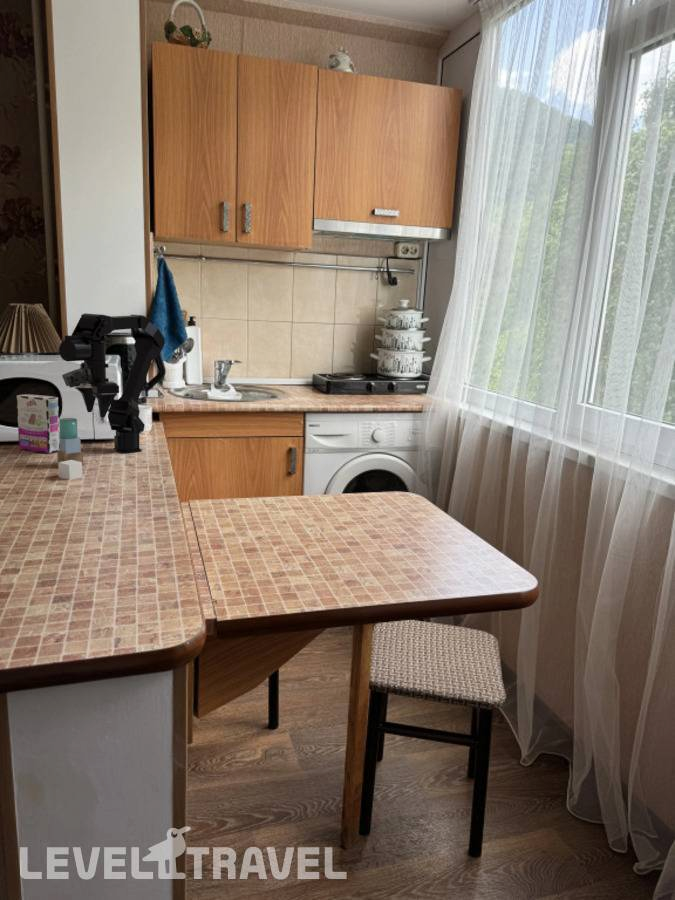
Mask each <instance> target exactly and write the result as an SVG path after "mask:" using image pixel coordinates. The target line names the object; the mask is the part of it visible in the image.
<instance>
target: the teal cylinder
mask: <svg viewBox="0 0 675 900" xmlns="http://www.w3.org/2000/svg"><path fill="white" fill-rule="evenodd" d="M59 434H60V438H62V439H75V438H77V437H79V436H78V419H77V418H74V417H63V418H59Z"/></svg>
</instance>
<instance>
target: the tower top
mask: <svg viewBox="0 0 675 900" xmlns="http://www.w3.org/2000/svg"><path fill="white" fill-rule="evenodd" d="M81 450H82V448H81V437H80V436H78V437H77V438H75V439H62V438H60V451H61V452H63V453H65V454H69V453H78V452H82V451H81Z"/></svg>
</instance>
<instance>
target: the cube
mask: <svg viewBox="0 0 675 900" xmlns="http://www.w3.org/2000/svg"><path fill="white" fill-rule="evenodd" d="M57 465H58V478H60V479H64V480H68V481H71V480H74V479H78V478H79V479H80V478H82V477H83V466H82V462H79V461H75V460H68V461H63V462H59V463H58V462H57Z"/></svg>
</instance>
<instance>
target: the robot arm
mask: <svg viewBox="0 0 675 900" xmlns="http://www.w3.org/2000/svg"><path fill="white" fill-rule="evenodd" d="M140 329H141V330H140ZM120 330H130V335H131V337H132V339H133V340H134V343H133V344H134V345H133V347H134V350H135V358H134V361H133V363H132V366H131V369H130V372H129V375H128V378H127V379H126V383H125V385H124V388H123V391H122V394H121V396H120V397H119V398H118V399H117V398H116V396H117V395H118V394H120V385H119V384H118V383H117V382H113V381H110V380H109V378H108V377H107V369H108V368H109V363H106V362H107V361H106V360H107V359H106V355H107V354H106V344H111V343H112V342H111V340H110V339H109V338H108V337H107V335H109V334H112V333H113V331H120ZM165 342H166V339H165V337H164V335H163V334H162V332H161V331H160V329H159V328H158V327H157V326H155V324H153V323H151V322H150V321H149V320H148V318H147V317H146V316H145V315H142V314H130V315H112V316H111V315H106V314H99V313H86V312H85V313H82V314H81V315H80V317H79V320H78V322H77V324H76V326H75V327H74V329H73V331H72V333H71V335H68V334H67V335H66V334H65V335H64V340H62V342H60V344H59V347H58V352H59V356H60V357H61V359H62V360H63V361H65V362H80V361H83V362H81V363H80V364H79V365H80V366H79V368H78V369H74V370H71V371H68V372H66V373H63V374H61V376H62V379H63V382H64V384H65V386H66V387H69V388H74V389H75V390H77V391H78V392H79V393H80V394H81V396H82V400H83V402H84V405H85V408H86V411H87V413H92V412H93V409H94V406H95V403H96V399H97V404H98V405H97V406H98V412H99V416H100V418H105V417H106V416H107V419H108V423H109V426H110V430H111V431H115V435H114V437H113V438H114V439H113V440H114V441H113V446H114V447H113V450H115V451H116V452H118V453H121V454H127V453H128V454H129V453H137V452H143V449H142V448H140V434H141V433H142V432H144V431H145V427H146V426H145V423H144V421H143V420H142V419H141V418H140V411H141V410H140V406H139V398H140V396H141V394H142V390H143V387H144V385H145V382H146V379H147V376H148V373H149V371H150V368H151V365H152V362H153V361H154V360H155V359H156V358H157V357H158V356H159V355H160V354H161V352H162V351H163V349H164V346H165V344H166V343H165ZM115 398H116V399H115ZM107 413H108V414H107Z"/></svg>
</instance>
